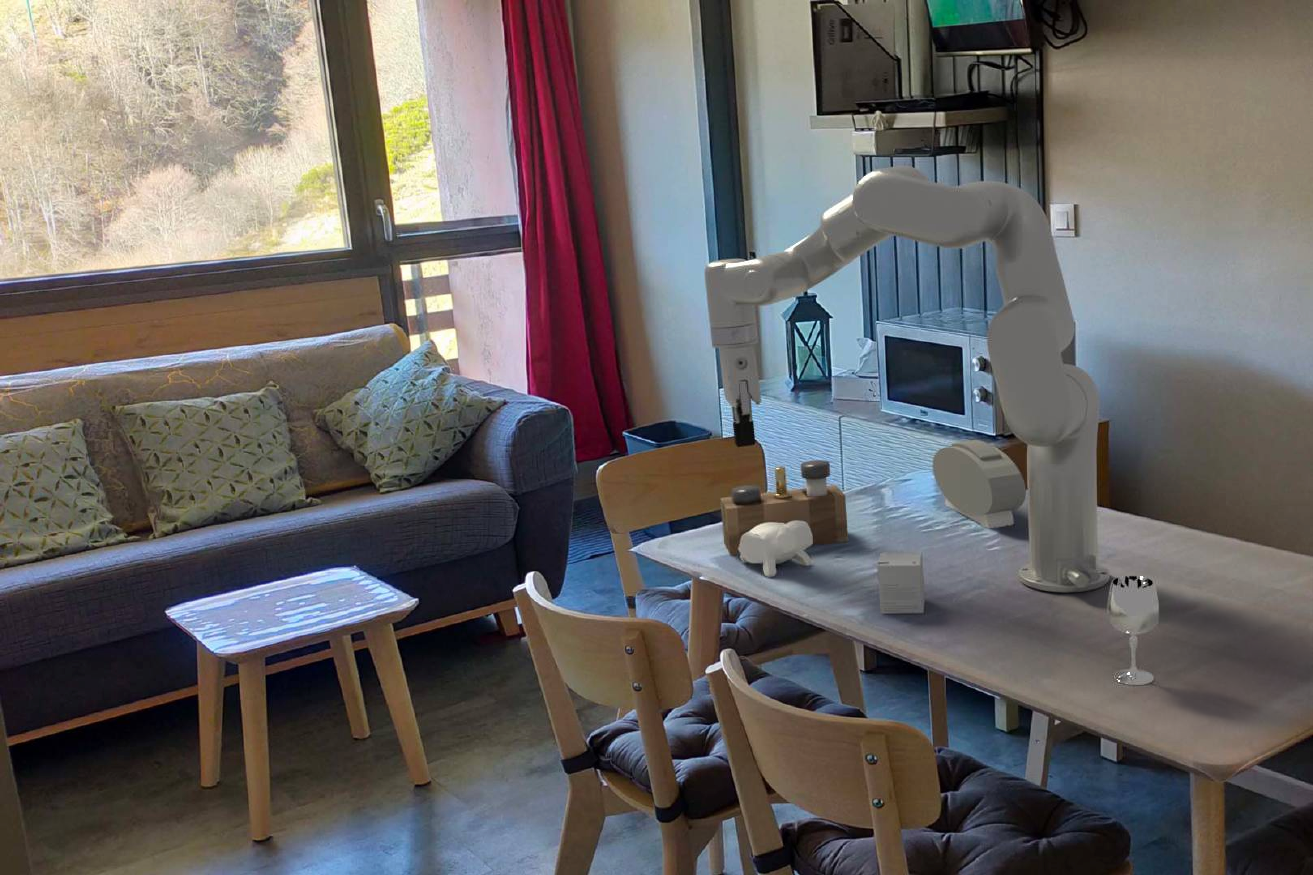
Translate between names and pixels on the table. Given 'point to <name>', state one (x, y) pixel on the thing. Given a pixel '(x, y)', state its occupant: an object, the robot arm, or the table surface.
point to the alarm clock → (979, 482)
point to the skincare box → (901, 582)
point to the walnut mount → (788, 516)
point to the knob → (815, 477)
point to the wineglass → (1133, 618)
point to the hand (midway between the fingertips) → (745, 444)
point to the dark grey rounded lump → (746, 495)
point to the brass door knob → (781, 484)
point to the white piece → (776, 544)
